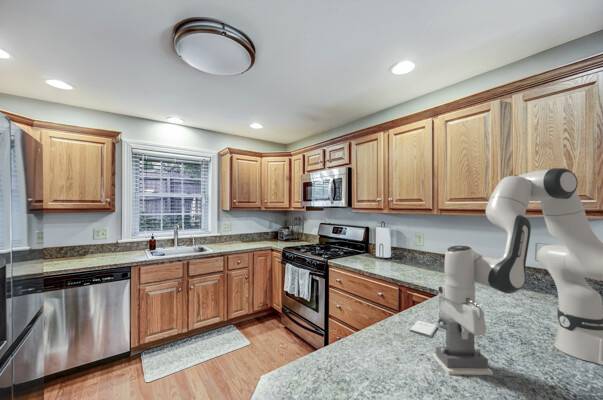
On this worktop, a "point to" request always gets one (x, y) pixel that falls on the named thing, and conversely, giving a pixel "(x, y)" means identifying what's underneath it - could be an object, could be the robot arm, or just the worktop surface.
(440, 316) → the ceramic mug
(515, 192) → the robot arm
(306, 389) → the worktop surface
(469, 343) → the block
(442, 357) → the dock
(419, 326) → the external hard drive
